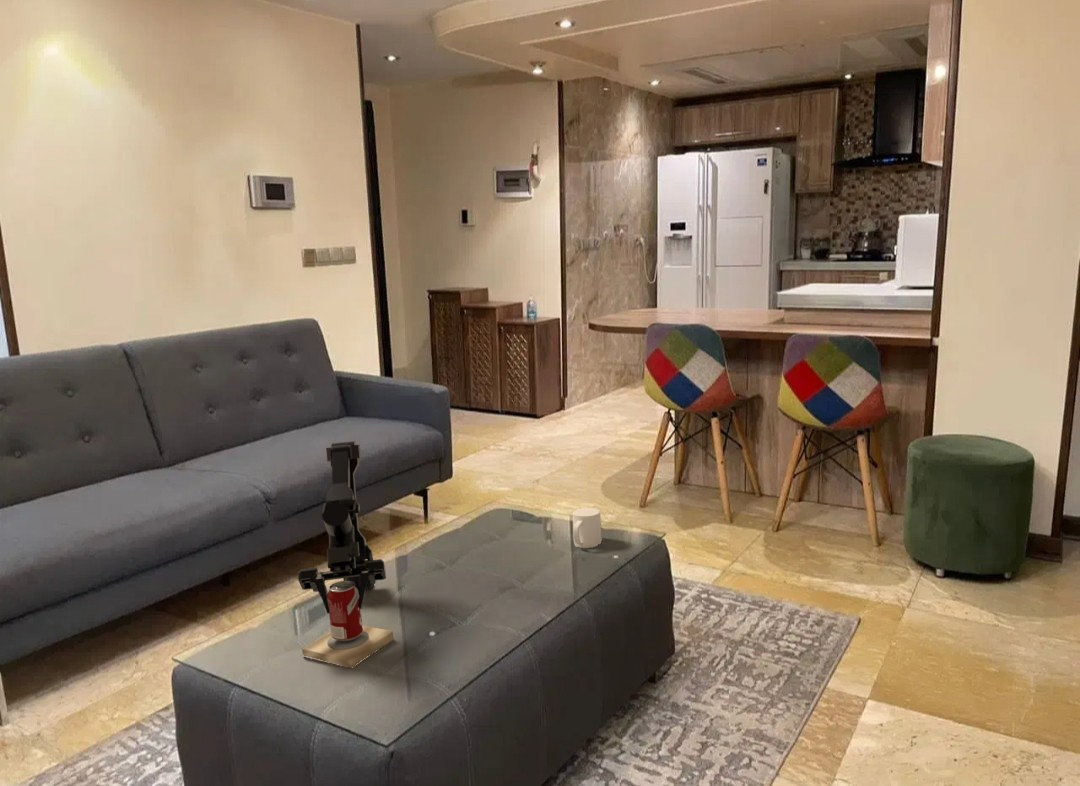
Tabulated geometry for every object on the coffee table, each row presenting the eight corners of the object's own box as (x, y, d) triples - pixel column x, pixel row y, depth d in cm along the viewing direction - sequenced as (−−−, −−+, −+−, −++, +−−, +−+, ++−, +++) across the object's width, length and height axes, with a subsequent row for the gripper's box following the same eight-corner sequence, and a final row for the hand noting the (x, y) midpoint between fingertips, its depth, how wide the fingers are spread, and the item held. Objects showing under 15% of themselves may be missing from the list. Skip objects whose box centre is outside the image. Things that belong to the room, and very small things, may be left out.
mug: (581, 505, 240) (605, 508, 236) (583, 535, 241) (607, 538, 237) (562, 518, 229) (587, 521, 225) (564, 549, 231) (589, 552, 227)
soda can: (343, 646, 174) (337, 594, 172) (326, 638, 179) (319, 587, 177) (369, 634, 179) (363, 583, 177) (351, 626, 184) (345, 577, 182)
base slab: (303, 657, 177) (302, 648, 176) (346, 629, 189) (345, 621, 188) (352, 668, 170) (350, 659, 170) (393, 639, 182) (392, 630, 182)
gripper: (294, 535, 177) (293, 603, 169) (379, 525, 180) (383, 591, 172) (302, 556, 186) (302, 621, 178) (384, 546, 189) (388, 610, 181)
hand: (344, 610), depth 177 cm, fingers closed on soda can, 7 cm apart
